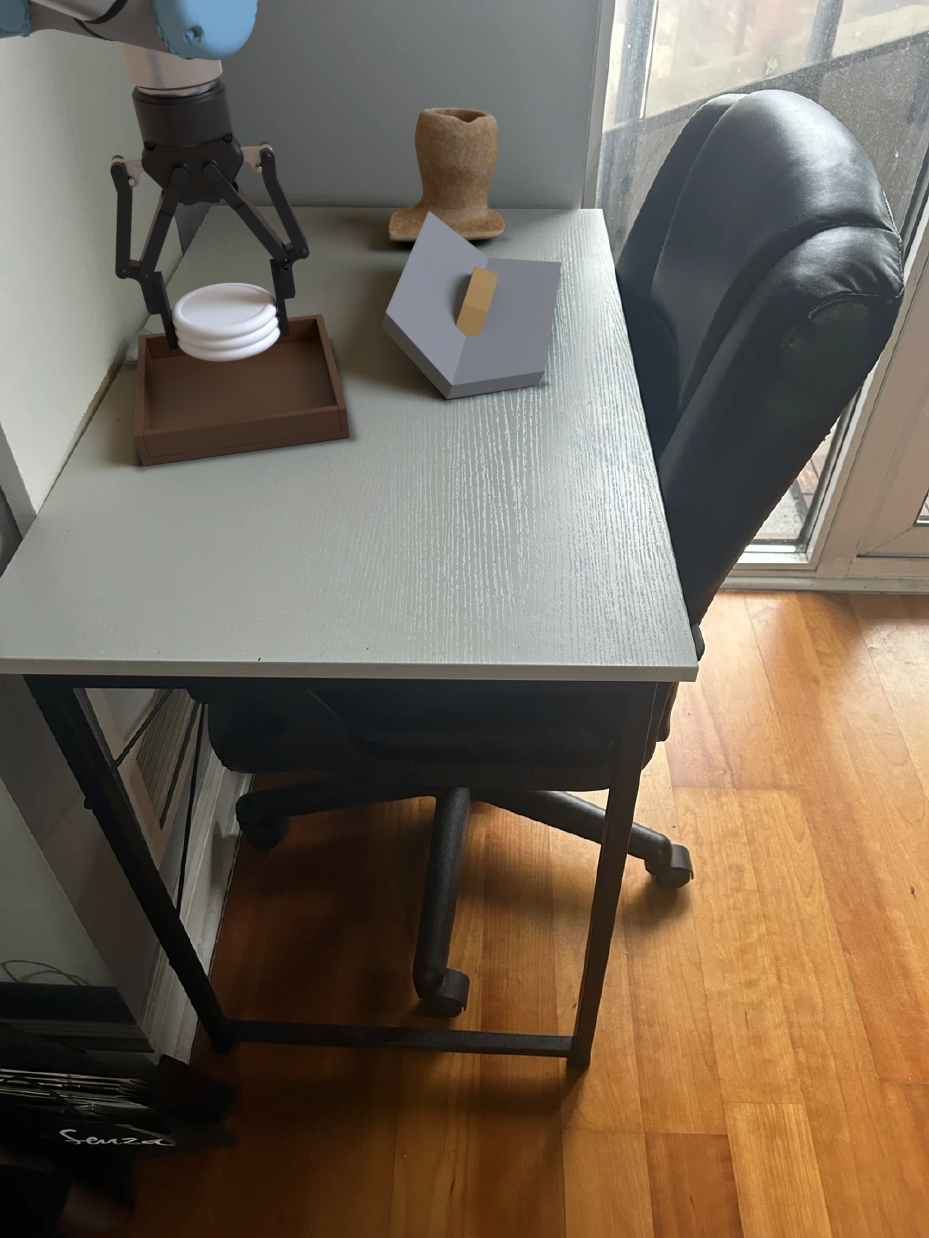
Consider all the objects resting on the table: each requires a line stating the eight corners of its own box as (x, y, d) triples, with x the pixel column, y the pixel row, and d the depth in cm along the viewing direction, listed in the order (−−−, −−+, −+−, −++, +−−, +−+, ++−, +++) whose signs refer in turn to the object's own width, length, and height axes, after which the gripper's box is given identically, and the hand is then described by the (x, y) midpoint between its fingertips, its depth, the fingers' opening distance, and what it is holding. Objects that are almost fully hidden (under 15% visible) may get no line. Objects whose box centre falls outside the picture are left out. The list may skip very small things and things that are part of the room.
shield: (525, 429, 97) (547, 296, 118) (543, 386, 93) (563, 257, 114) (366, 371, 95) (418, 247, 116) (379, 326, 91) (430, 205, 112)
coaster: (160, 358, 89) (150, 323, 87) (204, 309, 96) (197, 276, 94) (258, 369, 88) (251, 334, 85) (296, 319, 94) (291, 285, 92)
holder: (143, 466, 88) (133, 436, 86) (145, 363, 102) (138, 335, 100) (350, 437, 91) (346, 408, 89) (325, 341, 105) (322, 313, 103)
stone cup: (500, 214, 130) (501, 94, 119) (507, 250, 121) (509, 124, 111) (390, 217, 129) (382, 97, 119) (389, 254, 121) (380, 128, 110)
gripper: (311, 59, 80) (340, 304, 96) (35, 81, 77) (111, 332, 93) (322, 84, 75) (350, 339, 91) (26, 109, 72) (108, 370, 88)
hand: (229, 335), depth 92 cm, fingers closed on coaster, 10 cm apart
